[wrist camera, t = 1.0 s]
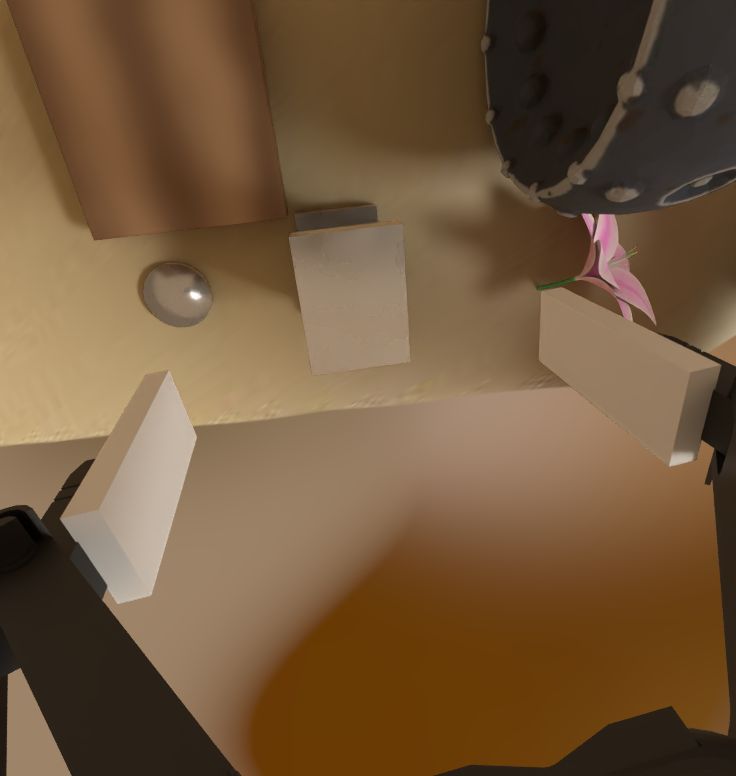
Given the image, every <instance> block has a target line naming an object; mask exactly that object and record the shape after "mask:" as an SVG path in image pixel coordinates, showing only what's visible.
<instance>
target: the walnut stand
mask: <svg viewBox="0 0 736 776" xmlns="http://www.w3.org/2000/svg"><path fill="white" fill-rule="evenodd" d="M7 3H8V6H9V9H10V11H11V14H12V17H13V20H14V22H15V25H16V28H17V31H18V33H19V36H20V39H21V42H22V44H23V47H24V50H25V53H26V55H27V58H28V61H29V63H30V66H31V69H32V72H33V74H34V77H35V80H36V83H37V85H38V88H39V91H40V94H41V96H42V99H43V102H44V105H45V107H46V110H47V113H48V116H49V118H50V121H51V124H52V126H53V129H54V132H55V135H56V137H57V140H58V143H59V146H60V148H61V151H62V154H63V157H64V159H65V162H66V165H67V168H68V170H69V173H70V176H71V179H72V181H73V184H74V187H75V189H76V192H77V195H78V198H79V200H80V203H81V206H82V209H83V211H84V214H85V217H86V220H87V222H88V225H89V228H90V231H91V233H92V236H93V239H94V240H102V239H110V238H119V237H128V236H137V235H145V234H154V233H163V232H172V231H180V230H189V229H198V228H206V227H215V226H224V225H233V224H241V223H250V222H259V221H267V220H276V219H285V218H287V216H288V209H287V203H286V197H285V191H284V185H283V179H282V173H281V167H280V161H279V155H278V149H277V143H276V137H275V131H274V125H273V119H272V113H271V107H270V101H269V95H268V89H267V83H266V77H265V71H264V65H263V59H262V53H261V47H260V41H259V35H258V29H257V23H256V17H255V11H254V5H253V0H7Z"/></svg>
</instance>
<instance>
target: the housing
mask: <svg viewBox="0 0 736 776" xmlns="http://www.w3.org/2000/svg"><path fill="white" fill-rule="evenodd" d="M294 216H295V222H296V228H297V230H296V232H294V233H289V243H290V249H291V255H292V260H293V266H294V272H295V278H296V284H297V290H298V296H299V302H300V308H301V313H302V319H303V325H304V331H305V337H306V343H307V349H308V355H309V360H310V366H311V372H312V376H313V375H321V374H328V373H335V372H343V371H350V370H357V369H365V368H372V367H379V366H387V365H394V364H401V363H409V362H410V344H409V326H408V308H407V291H406V273H405V255H404V237H403V224H402V223H401V222H399V221H398V220H397V221H388V222H379V221H378V220H377V210H376V205H374V204H368V205H359V206H351V207H342V208H333V209H324V210H316V211H307V212H298V213H295V214H294Z"/></svg>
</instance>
